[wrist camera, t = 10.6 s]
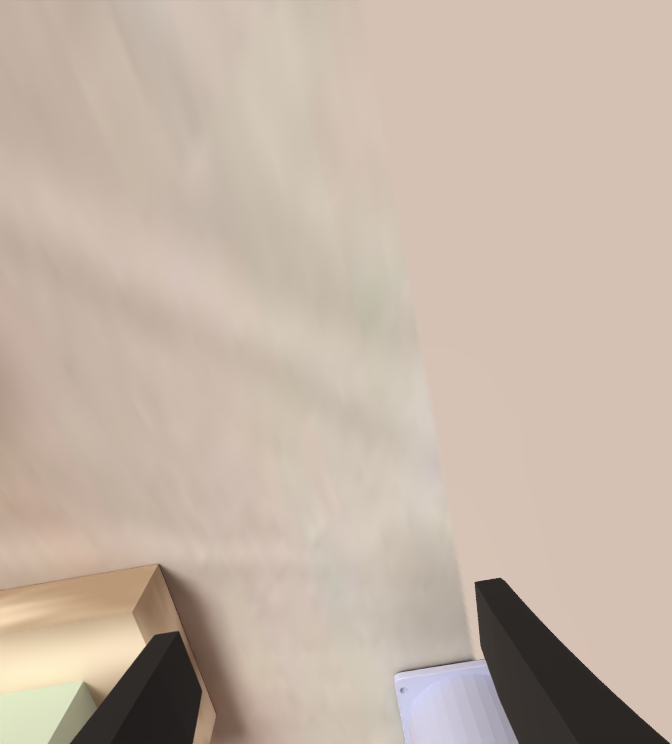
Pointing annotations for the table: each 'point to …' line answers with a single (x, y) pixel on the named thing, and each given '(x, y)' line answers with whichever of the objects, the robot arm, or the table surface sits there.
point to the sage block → (45, 714)
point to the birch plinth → (88, 633)
